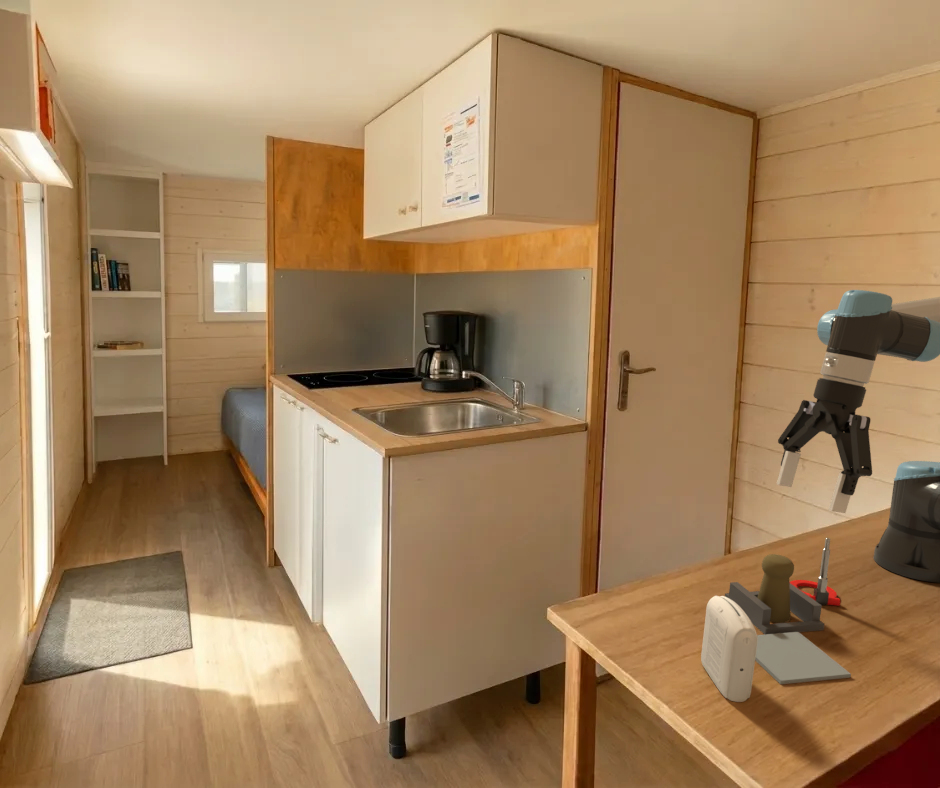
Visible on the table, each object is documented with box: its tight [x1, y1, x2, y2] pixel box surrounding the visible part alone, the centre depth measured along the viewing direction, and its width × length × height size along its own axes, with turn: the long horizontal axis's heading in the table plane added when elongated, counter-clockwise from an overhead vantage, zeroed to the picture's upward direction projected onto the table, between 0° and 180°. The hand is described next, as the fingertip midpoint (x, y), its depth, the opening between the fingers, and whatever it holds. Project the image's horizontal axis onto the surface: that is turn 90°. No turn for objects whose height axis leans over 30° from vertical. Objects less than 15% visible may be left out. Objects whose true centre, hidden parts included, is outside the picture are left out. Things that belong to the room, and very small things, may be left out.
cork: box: [758, 553, 795, 624], centre depth 117 cm, size 6×6×11 cm
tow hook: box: [789, 537, 841, 607], centre depth 125 cm, size 8×13×9 cm
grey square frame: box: [724, 581, 825, 635], centre depth 117 cm, size 11×12×4 cm
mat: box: [755, 632, 852, 685], centre depth 104 cm, size 12×12×1 cm
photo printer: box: [700, 595, 758, 703], centre depth 97 cm, size 10×4×12 cm, turn 3°
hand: (808, 498), depth 115 cm, fingers open, 13 cm apart
